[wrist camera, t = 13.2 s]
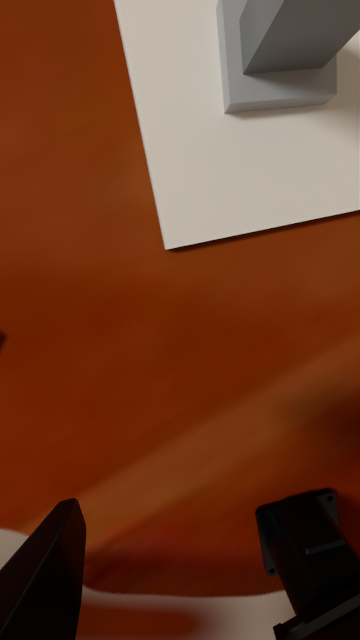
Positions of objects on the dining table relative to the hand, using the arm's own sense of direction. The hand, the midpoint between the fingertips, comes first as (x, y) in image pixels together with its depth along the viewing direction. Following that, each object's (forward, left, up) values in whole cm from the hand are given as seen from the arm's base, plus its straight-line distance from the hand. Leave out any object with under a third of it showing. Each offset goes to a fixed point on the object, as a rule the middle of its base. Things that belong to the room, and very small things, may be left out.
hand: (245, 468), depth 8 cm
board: (+13, -8, -13) cm, 20 cm away
